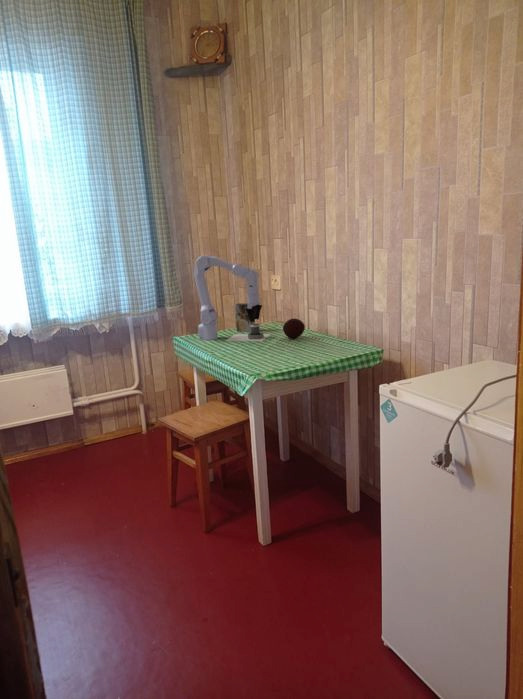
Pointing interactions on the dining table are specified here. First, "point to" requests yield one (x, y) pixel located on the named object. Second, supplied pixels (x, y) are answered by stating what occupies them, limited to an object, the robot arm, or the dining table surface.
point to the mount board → (244, 338)
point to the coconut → (293, 328)
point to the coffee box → (242, 318)
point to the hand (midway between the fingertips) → (254, 320)
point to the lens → (255, 329)
